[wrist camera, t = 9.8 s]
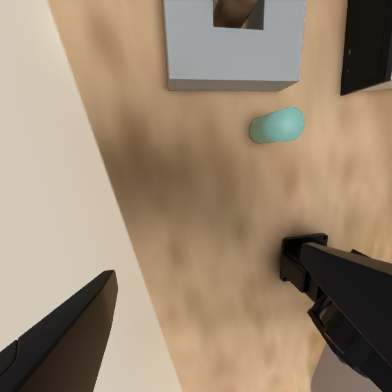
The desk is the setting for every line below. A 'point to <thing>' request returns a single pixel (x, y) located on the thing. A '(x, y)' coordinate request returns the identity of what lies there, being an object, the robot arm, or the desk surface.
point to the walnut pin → (232, 13)
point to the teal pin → (278, 126)
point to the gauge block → (233, 47)
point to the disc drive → (367, 46)
